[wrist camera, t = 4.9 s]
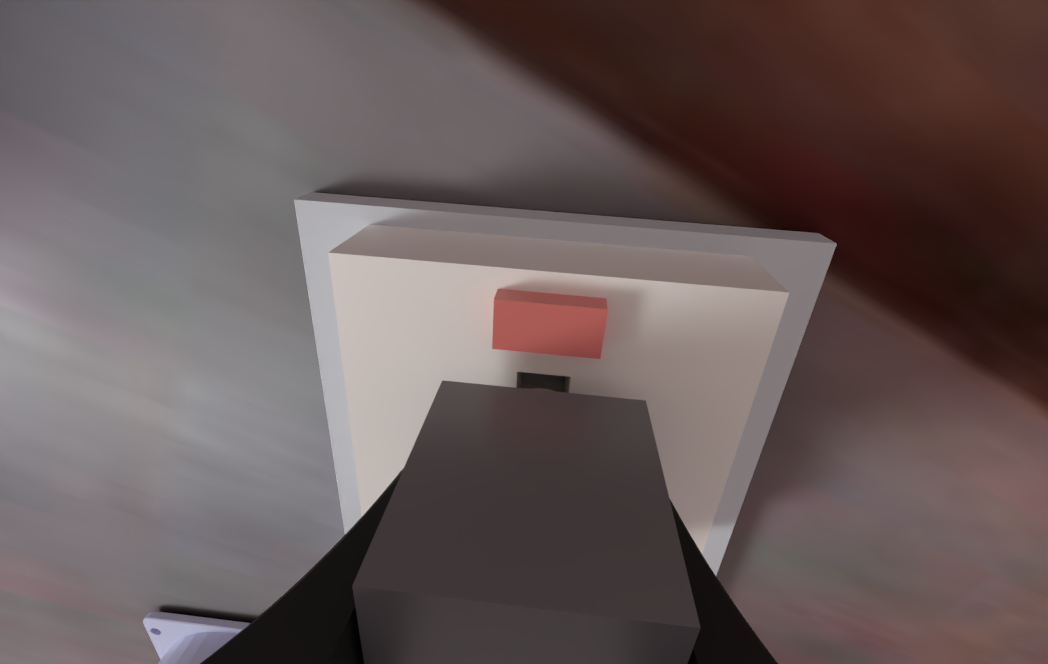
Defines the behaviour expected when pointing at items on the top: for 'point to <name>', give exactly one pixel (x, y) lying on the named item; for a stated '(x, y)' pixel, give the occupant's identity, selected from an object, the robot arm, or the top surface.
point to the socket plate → (553, 341)
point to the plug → (528, 538)
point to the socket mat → (777, 251)
